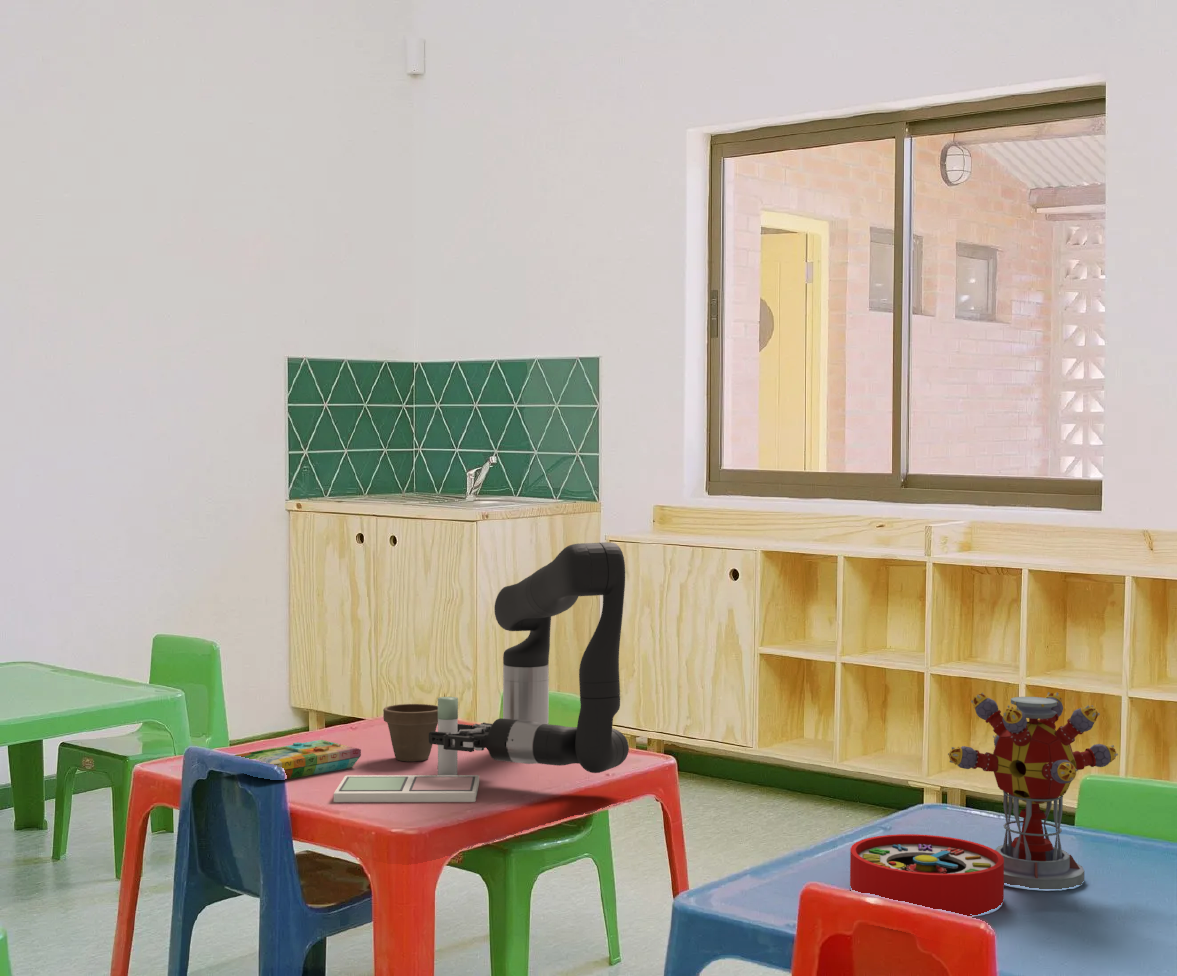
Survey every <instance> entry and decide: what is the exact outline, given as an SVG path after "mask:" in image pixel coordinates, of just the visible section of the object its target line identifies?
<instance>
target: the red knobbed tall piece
mask: <svg viewBox="0 0 1177 976" xmlns="http://www.w3.org/2000/svg"><path fill="white" fill-rule="evenodd" d="M970 703H972V704H973V708H974V710H975V713H976V715H977V717H978V718H980V719H982V720H985V721H984V722H985V723H986V724H988V723H989V725H990V726H991V727H992V728H993V730H992V731H993V733H994V734H995V735H992V738H993V743H994V750H993V752H992V753H991V752H984V753H982V752H980V751H979V750H978V749H974V748H973V747H970V746H965V745H964V746H963V745H962V746H961V747H960V746H957V747H953V746H951V749H950V752H949V753H948V754H947V755H948V758H949V763H952V764H954V765H955V766H957V767H959V769H960V768H961V769H965V770H969V769H973V770H976V769H977V768H979V769H981V770H982V771H984V772H990V773H991V772H993V773H994V774H993V775H994V778H995V781H996V784H997V787H998V788H999V790H1001V791H1002V793H1003V800H1002V801H1003V802H1002V803H1003V812H1004V818H1005V823H1004V824H1003V828H1004V829H1005V833H1004V839H1003V844H1002V845H999V846H997V847H996V848H995V849H994V850H995V851H997V852H999V853H1000V854H1001V855H1002V856H1003V858H1004V883H1007V884H1010V885H1020V886H1025V887H1029V888H1039V889H1062V888H1069V887H1074V886H1076V885H1081V884H1082V882H1083V881H1084V882H1085V869H1084V866H1082V865H1080V864H1079V863H1077V862H1076V860H1075V859H1074V858H1073V855H1072V854H1069V853H1068V852H1067V851H1065V850H1064V849H1062V843H1061V837H1060V834H1061V833H1062V828H1061V824H1062V823H1061V822H1062V817H1063V811H1064V810H1063V809H1064V808H1063V806H1064V805H1063V803H1064V801H1063V798H1064V795H1065V794H1066V793H1067V791H1068V790H1069V788H1070V785H1071V783H1072V782H1073V781H1074V779H1075V778H1076V776H1077V772H1078V771H1081V770H1084V769H1085V768H1086V767H1091V768H1094V767H1097V768H1104V767H1107V766H1108V765H1109V764H1110V763H1113V761H1114V760H1116V757H1117V756H1119V754H1118V753H1117V751H1116V749H1115V746H1114V745H1113V744H1111V745H1107V744H1103V743H1102V744H1101V743H1096V744H1093V745H1091V746H1090V747H1088V748H1085V750H1084V751H1079V750H1075V751H1073V748H1072V743H1074V742H1075V741H1076V737H1077V736H1079V735H1083V734H1084V733H1085V732H1088V731H1090V730H1092V728H1093V727H1094V725H1095V723H1096V721H1097V719H1098V717H1099V716H1100V715H1101V713H1100V712H1098V710H1097V709H1096V707H1094V705H1093V704H1092V705H1089V704H1087V705H1085V706H1081V707H1080V708H1077V709H1075V710H1073V711H1072V714H1071V716H1070V718H1068V719H1067V723H1066V724H1064V725H1061V726H1059V727H1058V728H1057V729H1056V727H1057V726H1056V723H1057V722H1058V720H1059V718H1060V717H1061V716H1062V713H1063V711H1064V706H1063V698H1061V697H1060V694H1059V692H1055V693H1054V692H1049V691H1048V692H1047V695H1046V696H1045V697H1040V696H1015V697H1011V698H1010V704H1011V705H1013V706H1016V707H1013V706H1010V705H1009V704H1008V705H1007V708H1006V709H1005V711H1004V713H1003V716H1002V714H1001V713H1002V710H1000V709H999V705H998V704H997V702H996V701H995V700H994V699H992V698H990V697H989V696H986V695H985V694H984V692H981V693H979V694H976V695H975V696H974V697H973V699H971V700H970ZM1027 719H1028V720H1027ZM1020 800H1021V801H1022V802H1024V803H1025V808H1022V809H1021V810H1020V812H1019V809H1020V808H1019V806H1020V805H1019V804H1020ZM1052 802H1053V803H1052ZM1043 804H1046V807H1045V811H1044V810H1043V809H1041V807H1040V805H1043ZM1052 806H1053V811H1052V812H1053V820H1054V824H1052V823H1049V822H1047V820H1048V818H1049V814H1050V811H1051V809H1052ZM1012 813H1013V815H1014V820H1013V821H1011V815H1012ZM1020 818H1022V819H1023V820H1020ZM1042 820H1043V821H1042ZM1021 823H1022V827H1021ZM1012 824H1016V826H1017V828H1018V831H1017V830H1013V829H1010V828H1011V827H1010V825H1012ZM1046 826H1050V827H1053V828H1055V832H1053V833H1052V832H1051V833H1048V830H1047V828H1046ZM1012 833H1014V834H1018V836H1016V837H1015V838H1013V840H1012ZM1052 836H1056V837H1055V841H1054V846H1053V844H1052V842H1051V840H1050V837H1052ZM1082 885H1083V884H1082Z"/></svg>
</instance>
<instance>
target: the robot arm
mask: <svg viewBox="0 0 1177 976" xmlns="http://www.w3.org/2000/svg"><path fill="white" fill-rule="evenodd" d="M625 563H626V562H625V557H624V554H623V550H622V548H621V547H620V546H619V545H618V544H617V543H615V542H587V543H585V542H584V543H583V542H582V543H581V542H580V543H573V544H570V545H567V546H566V547H564V548H563V549H562V550H561V551H560V552H559V553H558V554H557V555H556V557H554V559H553V560H552V561H550V562H549V563H548V564H547V565H544V566H542V567H540V568H539V569H537V570H536V571H535V572H533V573H532V574H531V575H528V576H527V577H526V578H523V579H522V580H521V581H519V582H517V583H514V584H511V585H507V586H504V587H503V588H501V589H500V590H499V592H498V594H497V596H496V597H495V601H494V617H495V620H496V621H497V623H498V625H499V626H500V627H501V628H502V629H503V630H505V631H508V632H527V631H529V634H528V636H527V637H526V638H525V639H524V640H522V641H521V642H519V643H517V644H516V645H514V646H512V647H508V648H507V649H505V650H504V651H503V655H502V656H503V659H502V665H503V666H502V667H503V669H502V718H501V717H500V718H497V719H496V720H495V721H493V722H492V723H487V722H482V723H480V724H479V723H474V724H463V723H458V732H457V733H451V732H448V733H445V732H438V731H432V732H430V733H429V743H430V744H432V745H435V746H436V745H437V746H438V745H444V749H446V750H457V752H458V751H460V752H468V753H474V752H475V751H485V749H486V750H487V751H488V753H489V756H490V757H491V759H493V760H494V761H498V762H507V763H516V764H526V765H527V764H528V765H534V764H537V765H538V764H541V765H546V766H547V765H548V766H557V767H558V766H569V765H571V764H573V765H574V764H579V765H580V766H581V767H582V769H583V770H585V771H587V772H589V773H592V774H600V773H604V772H606V771H608V770H611V769H615V768H617V767H619V766H620V765H621V764H623V763H624V761H626V759H627V757H628V755H629V752H630V751H629V750H630V749H629V747H630V746H629V741H628V740H627V738H626V736H625V735H624V734H623V733H622V732H621V731H620V730H618V729H615V728H613V723H614V722H613V721H614V717H615V716H616V714H617V713H618V712H619V710H620V707H621V689H620V688H621V687H620V645H621V636H622V635H621V634H622V626H623V625H622V624H623V614H624V603H625V602H624V601H625V599H624V598H625V590H626V589H625V588H626V564H625ZM590 596H591V597H593V596H602V607H601V614H600V619H599V620H598V624H597V626H596V629H595V631H594V632H593V634H592V637H591V638H590V640H589V642H588V644H587V646H586V648H585V650H584V652H583V655H582V656H581V660H580V664H579V669H578V671H579V672H578V679H579V680H578V681H579V685H578V686H579V702H580V709H579V713H578V718H577V725H576V726H575V727H573V726H565V725H558V724H549V708H550V707H549V695H550V693H549V691H550V690H549V686H550V679H549V678H550V677H549V669H550V668H549V666H550V665H549V659H550V657H549V656H550V649H551V642H550V641H551V626H552V625H551V624H552V617H555V616H557V615H560V614H562V613H564V612H566V611H568V610H569V609H570V608H572V607H573V606H574V605H575V604H576V603H577V600H578V599H579V597H590ZM453 739H454V740H455V743H453Z"/></svg>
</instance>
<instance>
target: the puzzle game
mask: <svg viewBox="0 0 1177 976" xmlns="http://www.w3.org/2000/svg"><path fill="white" fill-rule="evenodd" d="M361 752H362V749H360V748H357V747H353V746H349V745H347V744H346V745H345V744H341V743H338V742H337V743H336V742H332V741H329V740H324V739H319V740H318V739H316V740H312V741H307V742H299V741H298V742H292V744H290V745H283V746H278V747H273V748H267V749H261V750H254V751H249V752H243V753H239V754H238V753H237V754H235V755H234V757H235V756H241V757H245V758H249V759H256V760H259V761H261V762H266V763H270V764H274V765H277V766H278V767H282V768H284V770H285V773H286V775H287V779H286V780H291V779H296V778H301V777H302V778H303V777H307V776H312V775H319V774H324V773H331V772H334V771H335V772H336V771H339V770H346V769H352V768H353V767H354V765H356V763H357V762H358V760H359V759H360V758H361V756H362V753H361Z"/></svg>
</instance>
